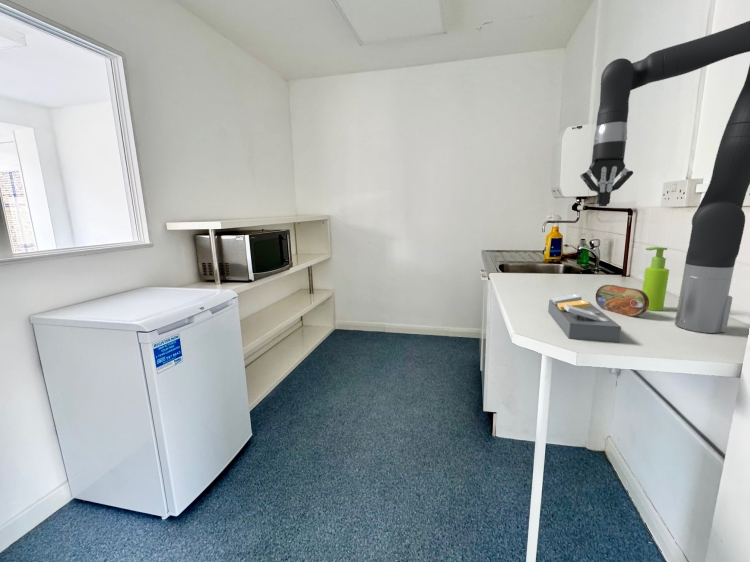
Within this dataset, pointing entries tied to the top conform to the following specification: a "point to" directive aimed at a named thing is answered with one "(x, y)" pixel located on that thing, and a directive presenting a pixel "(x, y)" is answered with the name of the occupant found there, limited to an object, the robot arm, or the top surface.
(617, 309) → the tin
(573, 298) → the rocker
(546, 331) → the top surface
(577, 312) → the rocker
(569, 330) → the rocker switch panel
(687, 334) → the top surface
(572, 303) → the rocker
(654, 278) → the soap dispenser
